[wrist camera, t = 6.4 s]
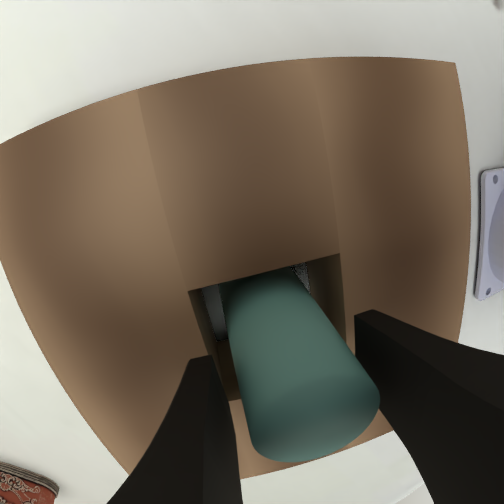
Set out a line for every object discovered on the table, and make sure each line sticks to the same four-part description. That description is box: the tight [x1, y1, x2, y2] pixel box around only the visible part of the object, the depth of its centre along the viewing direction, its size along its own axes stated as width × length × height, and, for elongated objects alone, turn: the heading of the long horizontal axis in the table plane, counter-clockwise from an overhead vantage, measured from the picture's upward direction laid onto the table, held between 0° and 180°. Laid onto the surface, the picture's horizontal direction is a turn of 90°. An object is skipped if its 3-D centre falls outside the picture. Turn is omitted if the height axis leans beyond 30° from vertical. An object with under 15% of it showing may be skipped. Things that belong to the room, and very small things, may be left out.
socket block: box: [0, 57, 471, 479], centre depth 12 cm, size 16×16×4 cm
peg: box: [219, 266, 380, 462], centre depth 10 cm, size 3×3×8 cm
